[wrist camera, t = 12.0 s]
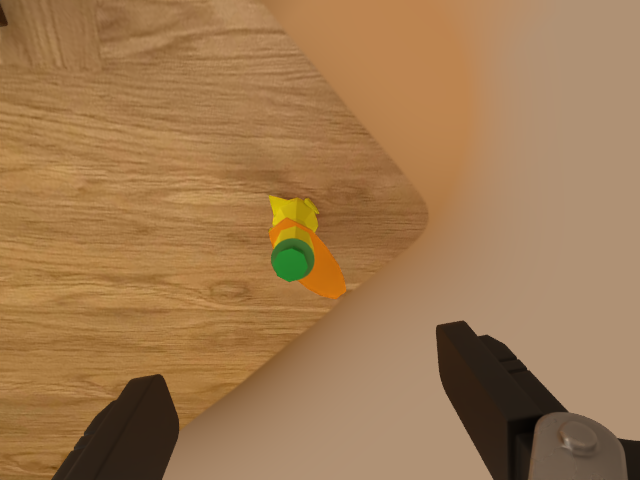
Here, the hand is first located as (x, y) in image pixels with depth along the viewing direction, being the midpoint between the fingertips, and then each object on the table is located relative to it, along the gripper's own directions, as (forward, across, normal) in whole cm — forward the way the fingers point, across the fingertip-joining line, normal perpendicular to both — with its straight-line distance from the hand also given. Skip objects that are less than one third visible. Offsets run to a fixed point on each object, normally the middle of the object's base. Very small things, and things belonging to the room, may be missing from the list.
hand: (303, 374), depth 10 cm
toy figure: (+19, 0, 0) cm, 19 cm away
